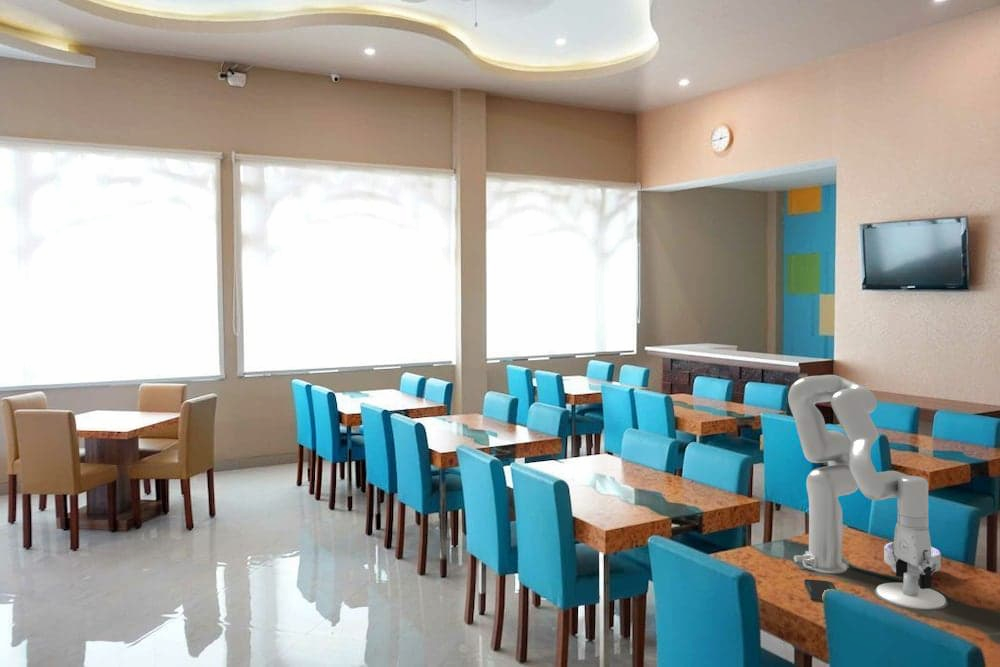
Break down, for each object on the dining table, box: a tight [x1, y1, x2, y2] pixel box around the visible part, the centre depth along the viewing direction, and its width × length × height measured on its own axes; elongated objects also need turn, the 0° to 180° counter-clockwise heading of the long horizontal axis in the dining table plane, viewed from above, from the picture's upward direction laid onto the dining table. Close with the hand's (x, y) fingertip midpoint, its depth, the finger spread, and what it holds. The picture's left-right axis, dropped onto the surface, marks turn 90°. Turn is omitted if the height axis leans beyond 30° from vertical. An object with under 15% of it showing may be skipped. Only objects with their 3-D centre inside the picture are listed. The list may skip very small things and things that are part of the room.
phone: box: [804, 578, 836, 603], centre depth 217 cm, size 8×1×15 cm
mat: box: [874, 587, 948, 611], centre depth 212 cm, size 18×18×1 cm
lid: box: [876, 572, 947, 610], centre depth 212 cm, size 17×17×6 cm
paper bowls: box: [883, 541, 942, 580], centre depth 231 cm, size 15×15×8 cm
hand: (913, 582), depth 211 cm, fingers open, 9 cm apart
